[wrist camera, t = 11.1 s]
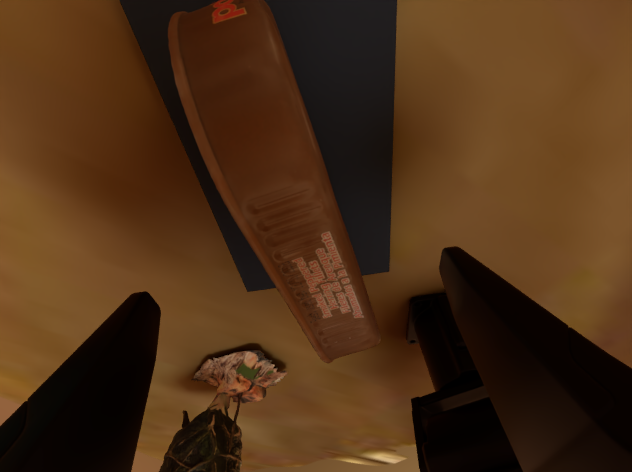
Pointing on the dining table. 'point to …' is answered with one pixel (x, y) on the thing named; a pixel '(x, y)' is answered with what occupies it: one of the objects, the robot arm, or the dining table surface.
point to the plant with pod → (220, 414)
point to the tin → (271, 167)
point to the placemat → (309, 111)
